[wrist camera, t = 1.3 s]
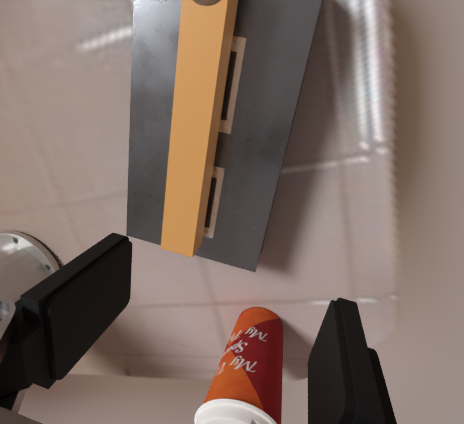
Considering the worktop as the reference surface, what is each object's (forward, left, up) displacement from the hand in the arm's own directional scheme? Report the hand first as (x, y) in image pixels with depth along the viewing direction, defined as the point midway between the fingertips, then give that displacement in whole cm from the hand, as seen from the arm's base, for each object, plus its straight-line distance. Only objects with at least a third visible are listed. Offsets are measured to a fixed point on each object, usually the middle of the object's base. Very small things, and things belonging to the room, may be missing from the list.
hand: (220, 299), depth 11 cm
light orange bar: (+4, +6, -15) cm, 17 cm away
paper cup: (-19, -2, -20) cm, 28 cm away
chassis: (+3, +7, -20) cm, 21 cm away
